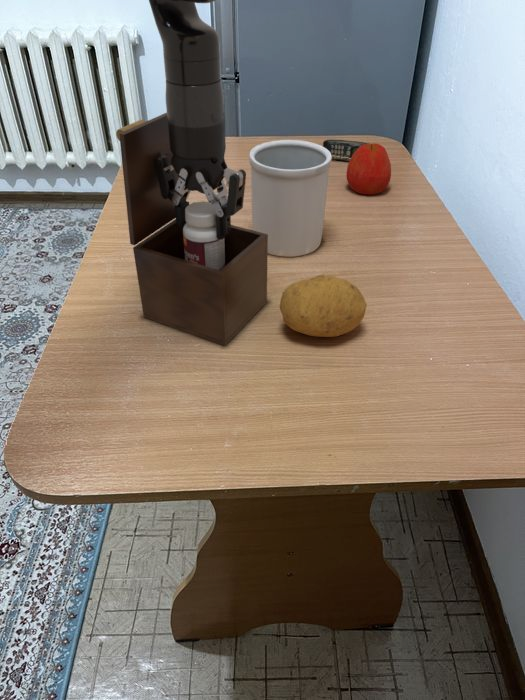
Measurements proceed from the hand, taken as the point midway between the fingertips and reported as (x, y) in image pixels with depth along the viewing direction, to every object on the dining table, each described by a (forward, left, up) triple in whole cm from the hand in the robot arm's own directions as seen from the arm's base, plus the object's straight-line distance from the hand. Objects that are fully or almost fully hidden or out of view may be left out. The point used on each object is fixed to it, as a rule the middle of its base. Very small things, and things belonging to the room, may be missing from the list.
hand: (203, 231), depth 85 cm
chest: (0, 0, -15) cm, 15 cm away
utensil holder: (+28, -1, -15) cm, 32 cm away
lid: (0, +7, +7) cm, 10 cm away
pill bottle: (0, 0, -8) cm, 8 cm away
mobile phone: (+75, +4, -15) cm, 77 cm away
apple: (+60, -6, -15) cm, 62 cm away
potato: (+4, -19, -15) cm, 24 cm away
